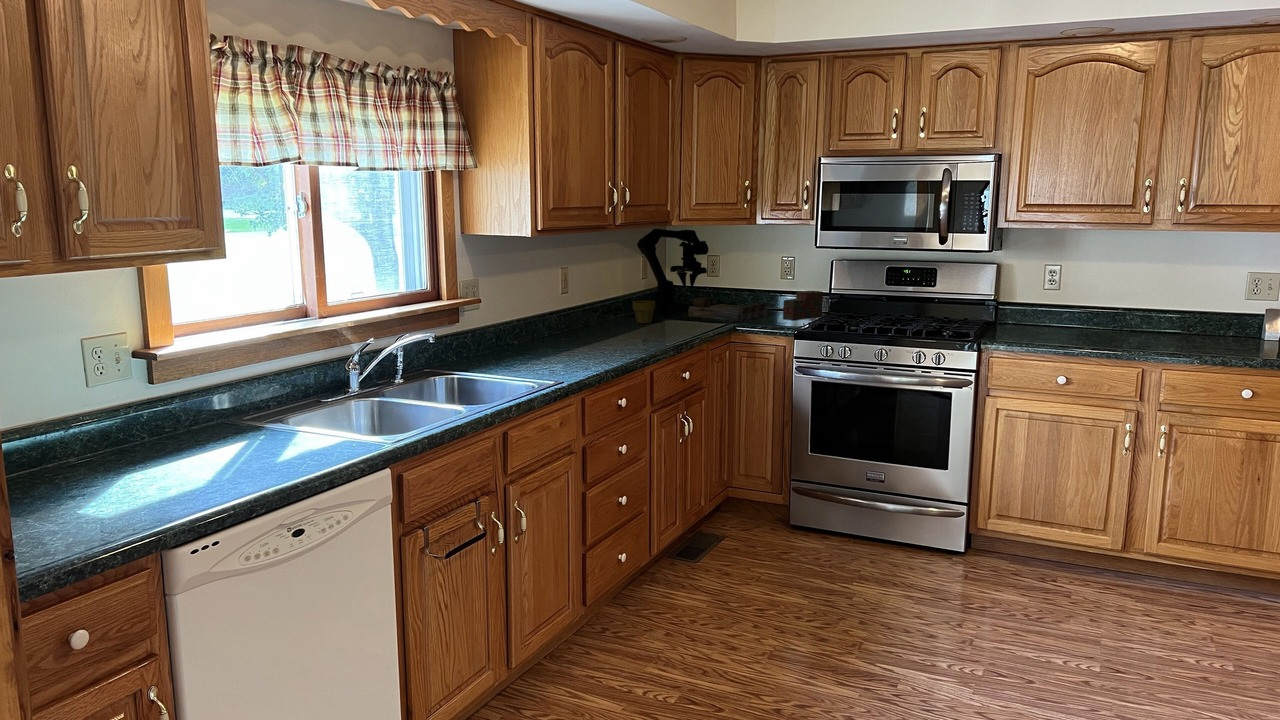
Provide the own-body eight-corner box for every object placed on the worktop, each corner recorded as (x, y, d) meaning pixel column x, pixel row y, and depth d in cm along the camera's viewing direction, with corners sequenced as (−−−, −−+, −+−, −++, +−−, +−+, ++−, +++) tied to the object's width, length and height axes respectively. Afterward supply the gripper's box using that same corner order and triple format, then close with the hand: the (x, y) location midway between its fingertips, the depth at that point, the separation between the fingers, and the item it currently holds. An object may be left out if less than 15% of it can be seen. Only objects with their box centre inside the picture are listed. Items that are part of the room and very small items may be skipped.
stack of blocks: (792, 321, 422) (793, 294, 420) (782, 319, 427) (783, 293, 425) (822, 316, 436) (823, 291, 434) (812, 315, 441) (812, 289, 438)
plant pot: (629, 322, 419) (629, 300, 417) (650, 320, 423) (650, 299, 421) (637, 325, 410) (637, 303, 408) (658, 324, 413) (658, 302, 411)
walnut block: (703, 307, 444) (703, 299, 443) (693, 306, 448) (693, 298, 447) (710, 306, 449) (710, 298, 448) (700, 305, 453) (700, 297, 452)
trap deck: (737, 321, 420) (737, 308, 418) (676, 314, 441) (676, 302, 440) (769, 315, 441) (769, 302, 440) (709, 308, 463) (710, 297, 462)
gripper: (713, 255, 449) (713, 287, 452) (683, 253, 461) (682, 284, 464) (700, 256, 441) (699, 289, 444) (669, 255, 452) (669, 286, 455)
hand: (688, 287), depth 452 cm, fingers open, 4 cm apart
